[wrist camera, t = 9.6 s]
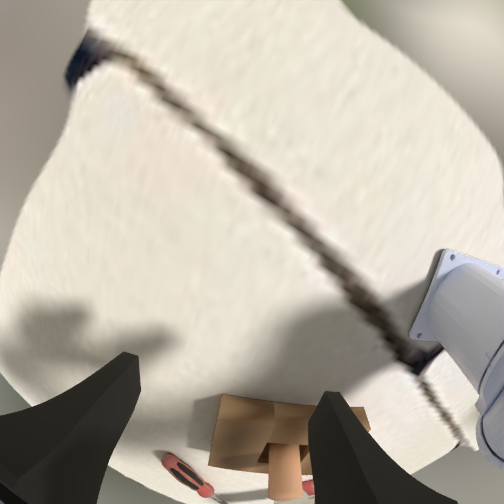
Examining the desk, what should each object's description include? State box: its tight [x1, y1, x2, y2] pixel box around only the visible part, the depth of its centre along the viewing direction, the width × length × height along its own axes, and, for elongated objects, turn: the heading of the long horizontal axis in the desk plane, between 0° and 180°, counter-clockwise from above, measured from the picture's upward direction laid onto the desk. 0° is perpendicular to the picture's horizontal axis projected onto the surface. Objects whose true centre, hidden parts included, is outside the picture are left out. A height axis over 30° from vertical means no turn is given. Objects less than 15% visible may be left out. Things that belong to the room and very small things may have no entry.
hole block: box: [208, 394, 371, 475], centre depth 22 cm, size 14×10×3 cm
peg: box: [268, 443, 303, 501], centre depth 20 cm, size 3×3×8 cm
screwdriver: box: [161, 454, 227, 504], centre depth 29 cm, size 25×3×3 cm, turn 19°
